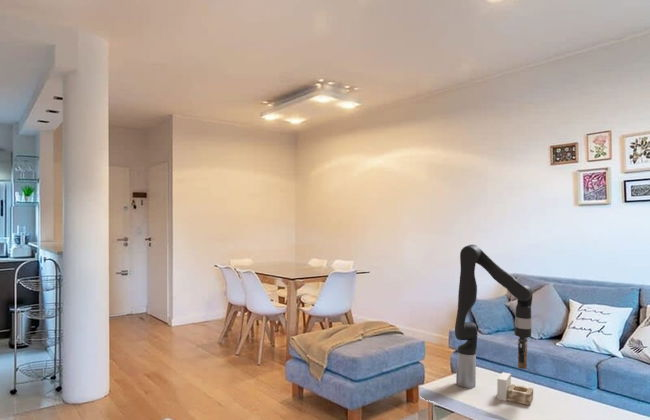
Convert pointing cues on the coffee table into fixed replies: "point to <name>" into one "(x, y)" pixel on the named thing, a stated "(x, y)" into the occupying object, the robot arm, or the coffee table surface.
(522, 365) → the dowel
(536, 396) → the coffee table surface
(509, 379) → the wall
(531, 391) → the socket block
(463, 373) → the robot arm
